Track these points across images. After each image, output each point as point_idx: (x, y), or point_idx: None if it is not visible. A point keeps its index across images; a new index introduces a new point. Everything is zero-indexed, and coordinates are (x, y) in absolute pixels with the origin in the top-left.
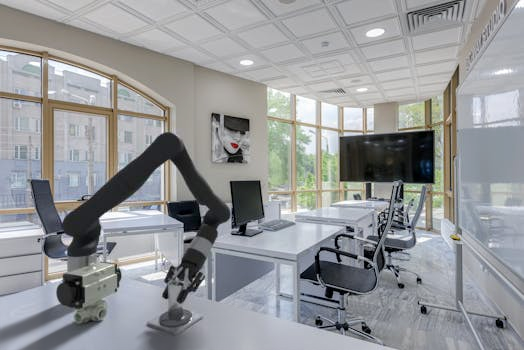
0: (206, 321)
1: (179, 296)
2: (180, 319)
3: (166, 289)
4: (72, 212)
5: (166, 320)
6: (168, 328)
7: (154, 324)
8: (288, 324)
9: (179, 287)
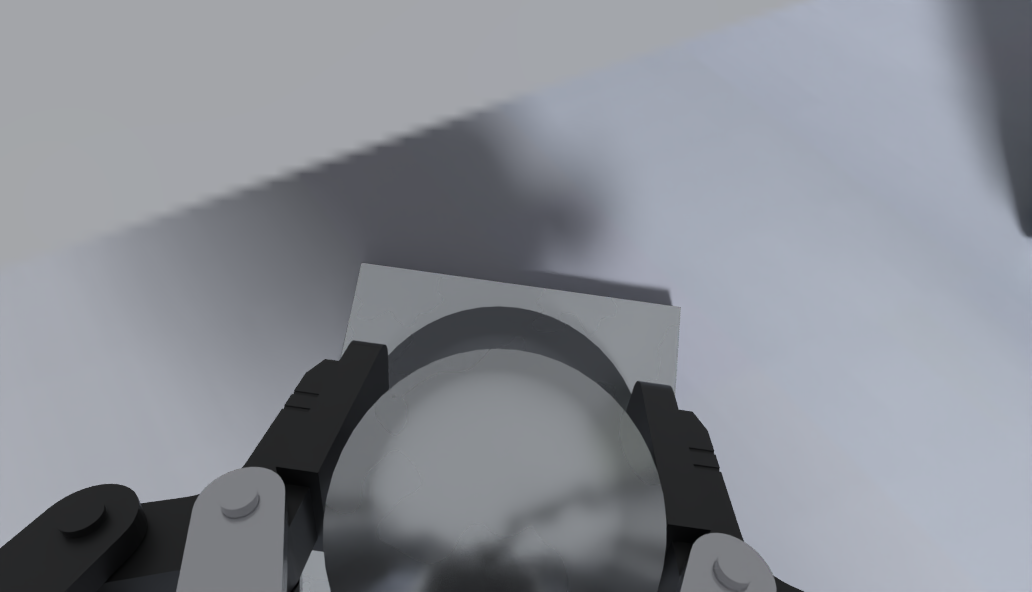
0: None
1: (350, 378)
2: None
3: (677, 464)
4: None
5: None
6: (451, 288)
7: (597, 297)
8: None
9: (352, 439)
